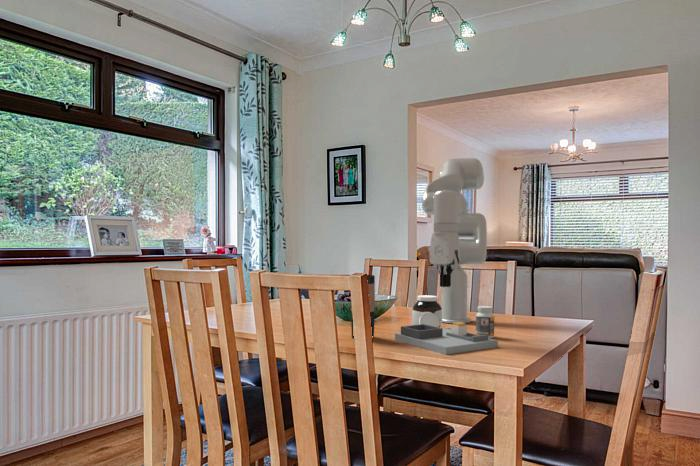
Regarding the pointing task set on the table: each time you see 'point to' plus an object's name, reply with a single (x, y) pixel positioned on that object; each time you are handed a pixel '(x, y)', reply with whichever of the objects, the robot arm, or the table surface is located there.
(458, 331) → the toggle
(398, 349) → the table surface
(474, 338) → the panel
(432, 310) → the spread jar
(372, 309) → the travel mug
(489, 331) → the pill bottle
